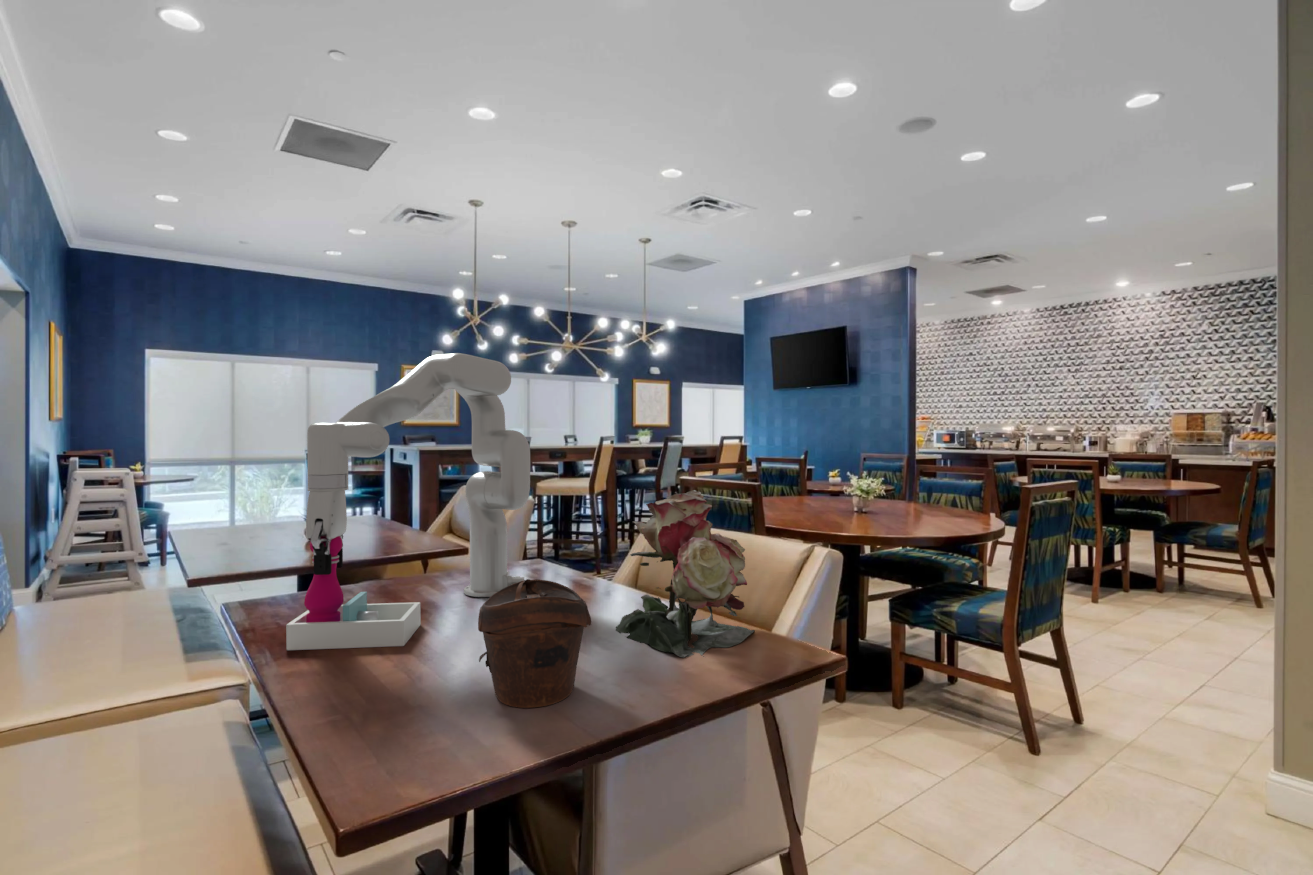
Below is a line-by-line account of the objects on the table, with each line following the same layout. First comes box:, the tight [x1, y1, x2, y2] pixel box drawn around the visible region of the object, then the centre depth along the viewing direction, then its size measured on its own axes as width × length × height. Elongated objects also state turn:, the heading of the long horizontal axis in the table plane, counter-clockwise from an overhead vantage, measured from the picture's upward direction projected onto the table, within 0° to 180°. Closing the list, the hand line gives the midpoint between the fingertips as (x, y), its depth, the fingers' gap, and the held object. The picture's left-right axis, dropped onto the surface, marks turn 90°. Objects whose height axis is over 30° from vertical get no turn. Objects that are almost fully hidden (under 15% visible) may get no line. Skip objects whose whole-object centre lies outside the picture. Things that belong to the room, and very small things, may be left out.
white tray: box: [285, 601, 421, 651], centre depth 137 cm, size 22×14×5 cm, turn 97°
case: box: [477, 578, 592, 709], centre depth 109 cm, size 18×20×18 cm
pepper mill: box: [303, 536, 345, 623], centre depth 136 cm, size 7×7×20 cm
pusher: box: [342, 591, 378, 621], centre depth 138 cm, size 5×11×7 cm, turn 7°
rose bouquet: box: [615, 490, 756, 658], centre depth 140 cm, size 26×29×30 cm
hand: (328, 570), depth 137 cm, fingers closed on pepper mill, 5 cm apart
